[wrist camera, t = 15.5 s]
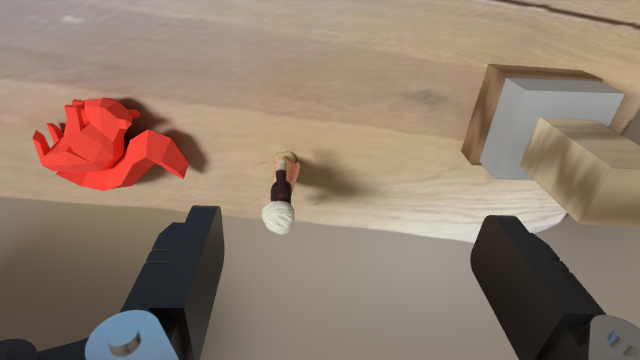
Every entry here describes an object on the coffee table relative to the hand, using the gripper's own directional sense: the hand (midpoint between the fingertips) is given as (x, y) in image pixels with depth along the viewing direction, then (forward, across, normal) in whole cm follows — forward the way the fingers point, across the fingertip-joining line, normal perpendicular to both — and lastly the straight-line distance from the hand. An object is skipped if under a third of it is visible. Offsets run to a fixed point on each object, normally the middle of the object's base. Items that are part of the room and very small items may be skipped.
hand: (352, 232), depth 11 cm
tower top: (+29, -25, +8) cm, 39 cm away
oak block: (+24, -25, +8) cm, 36 cm away
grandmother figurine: (+32, +3, +16) cm, 36 cm away
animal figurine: (+32, +22, +13) cm, 41 cm away
